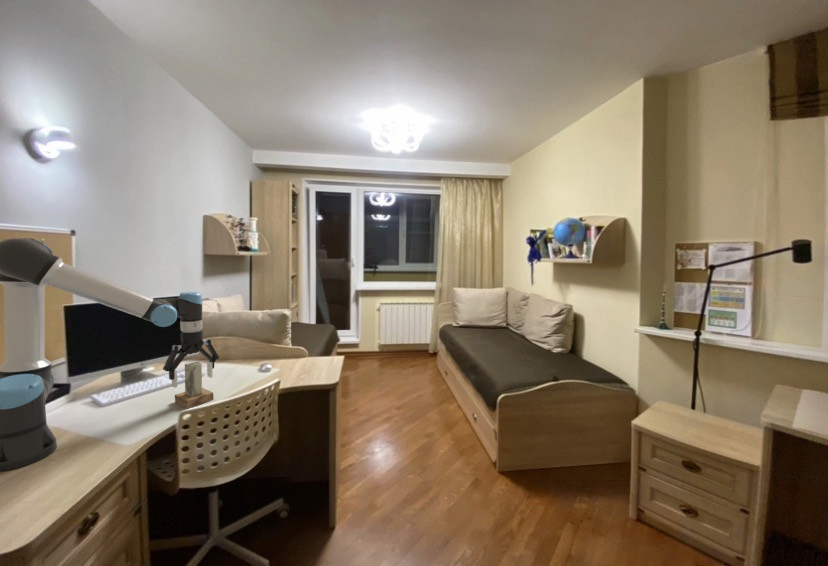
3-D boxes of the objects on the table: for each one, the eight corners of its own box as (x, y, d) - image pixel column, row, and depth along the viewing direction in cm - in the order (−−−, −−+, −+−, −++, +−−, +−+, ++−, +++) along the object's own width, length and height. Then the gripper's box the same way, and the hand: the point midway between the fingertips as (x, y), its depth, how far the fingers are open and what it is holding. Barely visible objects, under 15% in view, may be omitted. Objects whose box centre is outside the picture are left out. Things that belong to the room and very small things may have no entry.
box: (184, 394, 143) (183, 363, 142) (195, 390, 147) (194, 360, 146) (192, 397, 140) (190, 366, 139) (203, 393, 144) (202, 363, 143)
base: (187, 408, 137) (187, 401, 137) (175, 402, 142) (174, 394, 142) (213, 399, 146) (213, 392, 145) (200, 393, 151) (200, 386, 150)
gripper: (160, 338, 128) (162, 393, 130) (227, 326, 150) (228, 374, 152) (151, 334, 132) (153, 389, 134) (217, 324, 153) (218, 371, 155)
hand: (192, 381), depth 143 cm, fingers open, 13 cm apart
